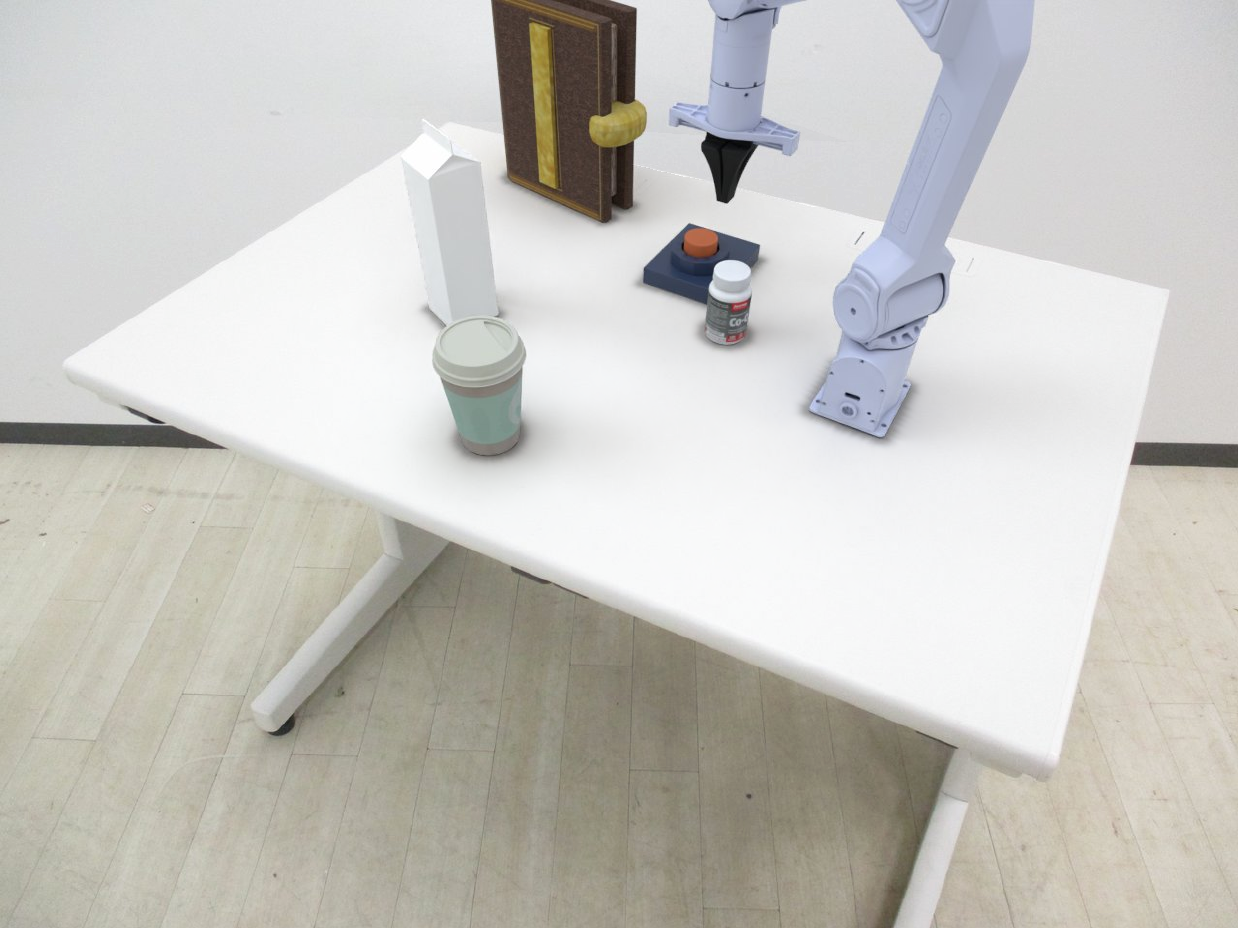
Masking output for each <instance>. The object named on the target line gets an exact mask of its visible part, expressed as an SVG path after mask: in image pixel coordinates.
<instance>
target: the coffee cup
mask: <svg viewBox="0 0 1238 928" xmlns="http://www.w3.org/2000/svg"><path fill="white" fill-rule="evenodd" d="M434 343H435V344H434V347H433V349H432V354H431V355H432V359H431V364H432V368H433V370H434V371H435V373H436V374H437V375H438V376H439V378H440V381H441V385H442V387H443V390H444V393H445V397H446V399H447V402H448V404H449V407H450V411H451V413H452V415H453V419H454V422H455V425H456V427H457V430H458V433H459V436H460V438H461V442H462V444H463V445H464V447H465V448H466V450H468V451H470V452H471V453H474V454H476V455H478V456H479V455H480V456H497V455H500V454H503V453H505V452H508V451H510V450H511V449H512V448H513V447H514V446H516V444H517V443H518V442H519V439H520V436H521V422H522V421H521V419H522V418H521V417H522V396H523V371H524V364H525V362H526V360H527V349H526V346H525V343H524V340H523V339H522V337H521V336H520V335H519V333H518V331H517V329H516V328H515V326H514V325H512V324H511V323H510V322H508V321H506V320H505V319H502V318H500V317H498V316H495V317H492V316H470V317H465V318H462V319H459V320H456V321H454V322H452V323H450V324H449V325H447V326H446V325H445V327H443V328H442V329H441V330H440V331H439V333H438V334H437V336H436V338H435V342H434Z"/></svg>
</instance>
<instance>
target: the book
mask: <svg viewBox="0 0 1238 928" xmlns="http://www.w3.org/2000/svg"><path fill="white" fill-rule="evenodd" d="M490 3H491V5H490V6H491V15H492V25H493V35H494V36H493V37H494V45H495V47H494V48H495V59H496V70H497V79H498V90H499V99H500V110H501V111H500V112H501V123H502V131H503V140H504V141H503V142H504V143H503V144H504V153H505V165H506V174H507V175H506V176H507V178H508V180H509V181H511V183H514V184H517V185H519V186H520V187H523V188H525V189H527V190H529V191H532V192H534V193H535V194H538V195H540V196H543V197H545V198H547V199H549V200H552V201H553V202H555V203H558V204H561V205H563V206H565V207H566V208H569V209H572V210H573V211H575V212H578V213H580V214H582V215H585V216H587V217H589V218H592V219H594V220H596V221H598V222H600V223H602V224H605V223H608V222H609V221H611V220H612V218H613V217H612V216H613V214H612V212H613V210H612V207H613V206H616V207H618V208H619V209H622V210H629V209H631V208H633V207H634V168H635V167H634V166H635V165H634V164H635V141H636V140H637V139H639V138H640V137H642V135H643V134H644V133H645V131H646V128H647V122H648V112H647V108H646V106H645V105H644V104H643V103H642V102H641V101H640V100H638V99H636V75H637V73H636V71H637V70H636V67H637V24H638V23H637V19H638V17H637V16H638V8H637V7H635V6H631V5H628V4H625V3H622V2H618V1H615V0H490Z"/></svg>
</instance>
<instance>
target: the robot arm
mask: <svg viewBox="0 0 1238 928" xmlns="http://www.w3.org/2000/svg"><path fill="white" fill-rule="evenodd" d="M707 1H708V4H709V6H710V8H711V10H712V12H713V13H714V24H713V35H712V39H713V40H712V50H711V62H710V75H709V87H708V101H707V105H705V104H694V103H686V102H682V101H677V102H676V103H674V104H673V105H672V106H670V107H669V110H668V112H669V113H668V126H671V127H675V128H677V127H679V126H683V127H686V128H691V129H694V130H699V131H702V132H705V133H706V134H705V136H704V137H705V138H704V140H703V141H701V143H700V151H701V153H702V154H703V156H704V158H705V160H706V162H707V165H708V167H709V170H710V173H711V177H712V180H713V186H714V192H715V198H716V199H715V200H716V202H720V203H723V204H725V205H727V204H729V203H730V202H731V201H732V200H733V199H734V198H735V196H736V192H737V188H738V185H739V184H740V183H739V182H740V180H741V177H742V175H743V174H744V171H745V168H746V167H747V165H748V163H749V161H750V159H751V158H752V156H753V154H754V153H755V152H756V149H758V147H759V146H761V147H765V148H768V149H772V150H777V151H780V152H781V154H782V155H783V156H786V157H787V156H788V157H791V156H793V155H794V153H796V152H797V150H798V148H799V142H800V138H801V137H800V136H801V131H799V130H795V129H793V128H789V127H786V126H785V125H782V124H780V123H778V122H775V121H773V120H772V119H769V118H767V117H766V116H763V115H762V112H763V111H762V110H763V106H764V105H763V103H764V96H765V89H766V88H765V87H766V81H767V72H768V64H769V56H770V48H771V40H772V33H773V32H772V31H773V30H774V29H775V28H776V26H777V25H778V24H779V18H780V17H779V16H780V13H781V9H782V7H784V6H788V5H793V4H797V3H801V2H805V1H807V0H707ZM895 1H896V2H897V5H898V6H899V7H900V8H901V10H902V12H903V13H904V14H905V16H906V17H907V18H908V20H909V21H910V23H911V24H912V26H913V27H914V29H915V30H916V32H917V33H918V34H919V36H920V37H921V39H922V40H923V41H924V43H925V45H926V46H927V47H928V49H929V51H931V52H933V53H934V54H937V55H938V56H939V57H940V60H941V63H942V67H941V70H940V72H939V74H938V75H939V76H938V77H937V81H936V84H935V86H934V89H933V92H932V93H931V94H932V95H931V97H930V100H929V102H928V105H927V107H926V111H925V113H924V116H923V117H922V118H923V119H922V121H921V124H920V126H919V129H918V132H917V135H916V137H915V139H914V143H913V145H912V148H911V151H910V153H909V156H908V159H907V162H906V164H905V166H904V170H903V172H902V174H901V178H900V181H899V182H898V186H897V189H896V191H895V194H894V197H893V199H892V202H891V205H890V208H889V211H888V213H887V215H886V218H885V221H884V223H883V226H882V229H881V231H880V234H879V236H878V237H877V238H876V239H875V240H874V241H872V243H871V244H870V245H869V246H868V247H866V249H865V250H863V252H861V254H859V255H858V256H857V257H856V258H855V259H854V261H853V262H852V264H851V267H850V270H849V272H848V274H847V275H846V276H845V277H844V278H843V279H841V280H840V281H839V282H838V283H837V285H836V286H835V288H834V291H833V295H832V310H833V315H834V318H835V320H836V323H837V325H838V327H839V328H840V329H841V334H840V338H839V343H838V347H837V351H836V354H835V357H834V358H833V360H832V361H831V363H830V365H829V367H828V370H827V372H826V373H827V374H826V378H825V382H824V383H823V385H822V386H821V387H820V389H819V391H818V392H817V394H816V395H815V397H814V398H813V400H812V402H811V404H810V405H809V409H808V410H809V411H810V412H811V413H813V414H815V415H818V416H821V417H824V418H826V419H830V420H832V421H835V422H837V423H840V424H842V425H845V426H847V427H851V428H853V429H856V430H859V431H862V432H864V433H867V434H870V435H873V436H875V437H878V438H884V437H885V435H886V433H887V432H888V430H889V428H890V426H891V425H892V423H893V420H894V419H895V417H896V415H897V413H898V412H899V410H900V407H901V406H902V404H903V402H904V400H905V398H906V396H907V394H908V392H909V391H910V389H911V386H912V383H911V382H910V381H909V380H906V377H907V373H908V371H909V368H910V364H911V362H912V360H913V356H914V353H915V350H916V347H917V344H918V341H919V337H920V335H921V332H922V329H923V328H925V327H926V325H927V322H928V320H929V316H931V315H934V314H937V313H938V312H940V311H941V310H942V309H943V308H945V305H946V304H947V302H948V300H949V296H950V278H951V273H952V270H953V267H955V263H956V259H955V257H954V256H953V254H952V252H951V251H950V250H949V248H948V247H947V246H946V245H945V244H946V242H947V240H948V237H949V235H950V233H951V231H952V228H953V227H954V225H955V222H956V220H957V217H958V215H959V213H960V211H961V209H962V206H963V204H964V202H965V200H966V197H967V196H968V193H969V190H970V189H971V186H972V184H973V182H974V179H975V177H976V175H977V173H978V172H979V171H978V170H979V169H980V166H981V164H982V161H983V160H984V157H985V155H986V153H987V150H988V148H989V146H990V143H991V142H992V139H993V137H994V134H995V132H996V131H997V129H998V126H999V123H1000V121H1001V120H1002V117H1003V115H1004V112H1005V110H1006V109H1007V106H1008V103H1009V101H1010V99H1011V97H1012V95H1013V92H1014V91H1015V88H1016V86H1017V83H1018V81H1019V79H1020V76H1021V75H1022V73H1023V70H1024V67H1025V66H1026V63H1027V60H1028V57H1029V54H1030V52H1031V45H1032V34H1033V23H1034V11H1035V1H1036V0H895Z"/></svg>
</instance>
